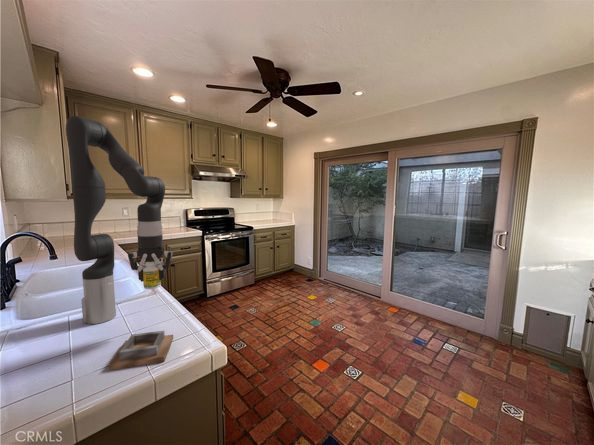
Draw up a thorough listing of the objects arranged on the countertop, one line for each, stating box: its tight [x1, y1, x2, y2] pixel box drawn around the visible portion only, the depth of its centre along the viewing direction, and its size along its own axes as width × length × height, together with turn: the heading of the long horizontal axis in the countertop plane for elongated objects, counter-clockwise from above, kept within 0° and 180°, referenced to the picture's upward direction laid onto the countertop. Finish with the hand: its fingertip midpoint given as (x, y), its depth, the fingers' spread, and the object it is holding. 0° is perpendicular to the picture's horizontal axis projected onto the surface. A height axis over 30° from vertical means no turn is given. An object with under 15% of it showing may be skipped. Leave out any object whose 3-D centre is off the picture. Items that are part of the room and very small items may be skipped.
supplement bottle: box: [142, 261, 162, 290], centre depth 87 cm, size 5×5×10 cm
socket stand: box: [107, 330, 174, 371], centre depth 75 cm, size 14×12×4 cm
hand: (152, 280), depth 87 cm, fingers closed on supplement bottle, 5 cm apart
